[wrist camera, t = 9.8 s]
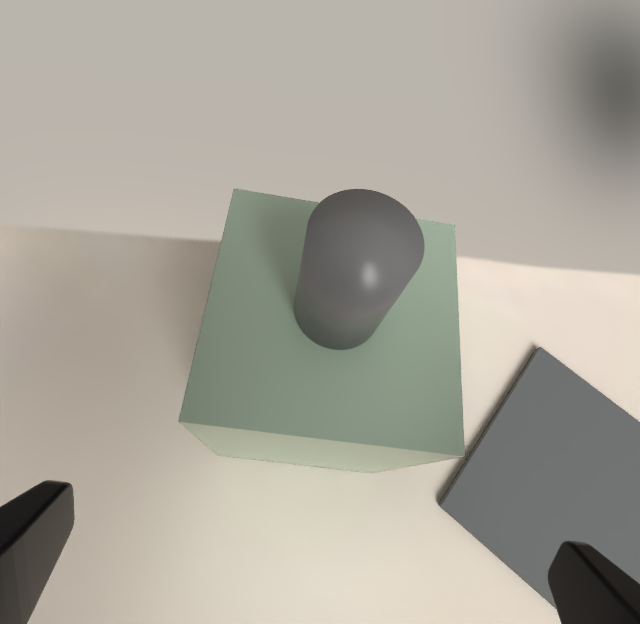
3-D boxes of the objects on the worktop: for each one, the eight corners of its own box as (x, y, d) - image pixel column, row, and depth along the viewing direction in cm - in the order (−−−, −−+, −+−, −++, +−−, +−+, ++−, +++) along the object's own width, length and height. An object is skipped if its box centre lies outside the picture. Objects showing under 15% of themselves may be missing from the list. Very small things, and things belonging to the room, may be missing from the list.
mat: (635, 678, 17) (643, 682, 16) (438, 504, 19) (441, 505, 18) (704, 478, 21) (712, 477, 20) (535, 349, 22) (540, 346, 22)
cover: (372, 473, 19) (556, 440, 7) (217, 455, 18) (137, 386, 6) (378, 331, 22) (516, 139, 10) (245, 311, 21) (224, 85, 9)
